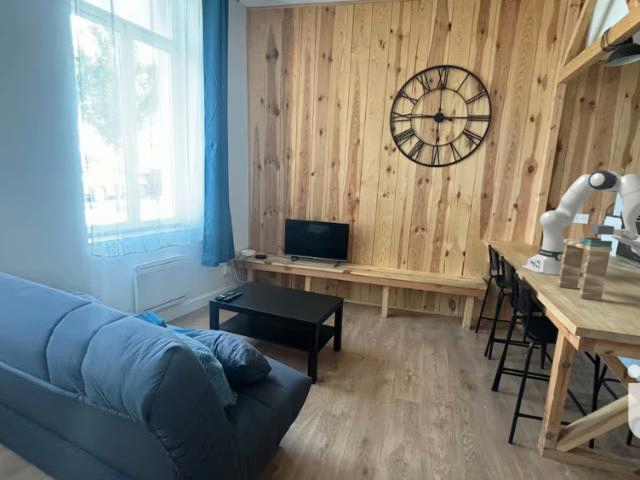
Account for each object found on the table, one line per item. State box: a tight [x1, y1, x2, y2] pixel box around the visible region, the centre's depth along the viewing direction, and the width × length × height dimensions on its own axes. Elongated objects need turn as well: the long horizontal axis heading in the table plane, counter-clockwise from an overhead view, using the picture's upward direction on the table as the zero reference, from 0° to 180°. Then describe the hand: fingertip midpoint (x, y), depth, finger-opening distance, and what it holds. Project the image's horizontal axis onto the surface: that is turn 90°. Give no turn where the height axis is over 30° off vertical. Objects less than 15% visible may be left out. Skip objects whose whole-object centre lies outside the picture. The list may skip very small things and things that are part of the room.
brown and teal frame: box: [557, 236, 613, 301], centre depth 180 cm, size 20×10×29 cm, turn 176°
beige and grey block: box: [589, 223, 632, 236], centre depth 170 cm, size 16×5×4 cm, turn 86°
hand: (619, 230), depth 170 cm, fingers closed on beige and grey block, 3 cm apart
